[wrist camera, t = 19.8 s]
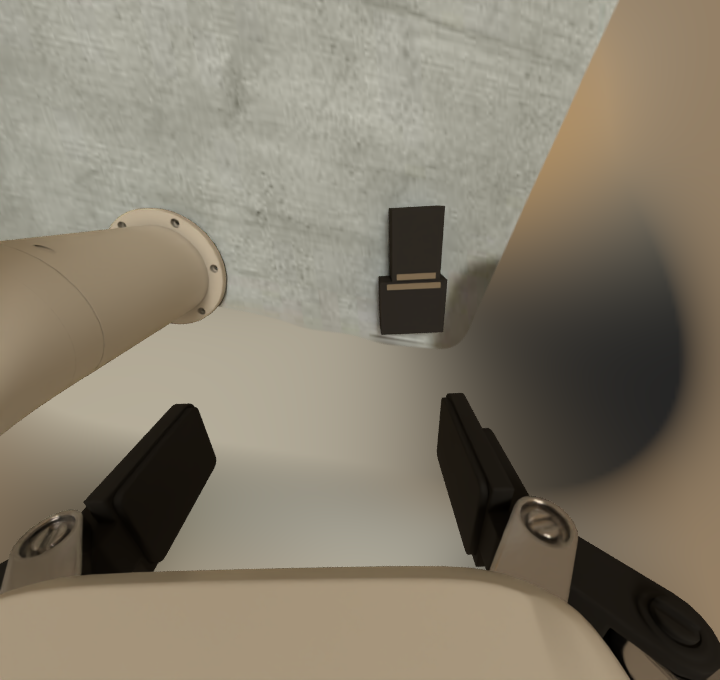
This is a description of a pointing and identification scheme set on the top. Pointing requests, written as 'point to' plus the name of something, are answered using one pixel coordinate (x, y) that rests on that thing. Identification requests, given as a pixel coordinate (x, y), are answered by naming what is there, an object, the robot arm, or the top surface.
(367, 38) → the top surface
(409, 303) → the charcoal pad
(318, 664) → the robot arm
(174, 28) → the top surface
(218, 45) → the top surface
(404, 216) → the black box
